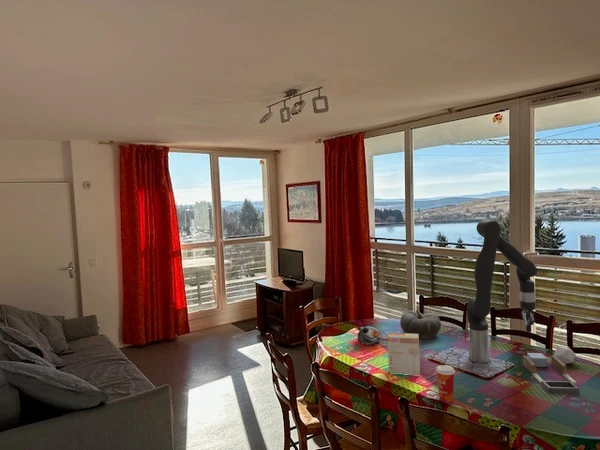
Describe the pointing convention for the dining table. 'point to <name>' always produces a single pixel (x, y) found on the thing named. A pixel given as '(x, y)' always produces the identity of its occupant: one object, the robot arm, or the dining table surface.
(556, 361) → the tunnel
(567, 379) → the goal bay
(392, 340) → the coffeecake box
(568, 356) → the die
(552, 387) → the tray
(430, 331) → the gourd
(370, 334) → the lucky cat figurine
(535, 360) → the block
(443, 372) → the paper cup
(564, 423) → the dining table surface
